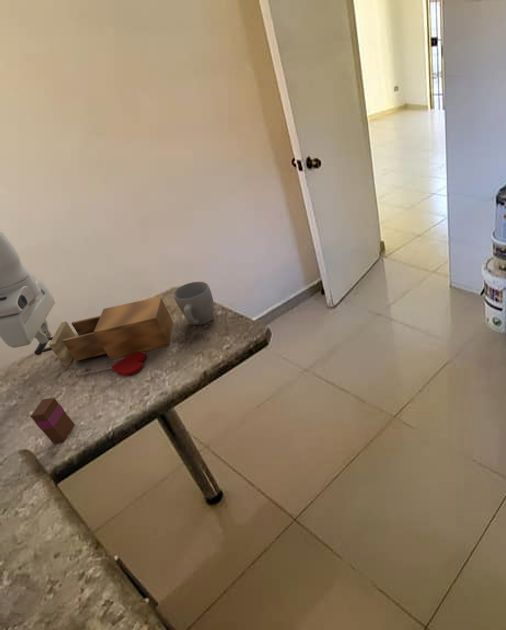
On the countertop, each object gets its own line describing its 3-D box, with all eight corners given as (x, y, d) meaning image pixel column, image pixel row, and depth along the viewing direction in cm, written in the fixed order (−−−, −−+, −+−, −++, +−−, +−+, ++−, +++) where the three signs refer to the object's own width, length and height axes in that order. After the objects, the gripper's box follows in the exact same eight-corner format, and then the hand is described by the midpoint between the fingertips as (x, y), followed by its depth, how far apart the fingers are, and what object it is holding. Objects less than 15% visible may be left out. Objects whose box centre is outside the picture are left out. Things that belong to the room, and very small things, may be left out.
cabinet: (110, 359, 108) (93, 332, 103) (118, 335, 117) (103, 308, 112) (169, 345, 112) (155, 318, 107) (173, 322, 120) (160, 296, 115)
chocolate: (52, 443, 87) (29, 416, 82) (63, 426, 90) (42, 399, 86) (64, 441, 87) (42, 414, 82) (75, 424, 91) (54, 397, 86)
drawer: (41, 372, 104) (25, 350, 100) (54, 348, 112) (39, 327, 108) (121, 352, 109) (108, 331, 105) (127, 331, 116) (116, 310, 113)
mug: (191, 312, 124) (178, 283, 118) (223, 308, 125) (211, 279, 119) (178, 338, 114) (164, 307, 108) (213, 333, 115) (200, 302, 109)
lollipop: (70, 388, 100) (140, 373, 103) (68, 385, 99) (139, 370, 102) (82, 365, 106) (148, 352, 109) (80, 363, 106) (147, 349, 109)
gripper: (14, 273, 105) (44, 320, 113) (-23, 317, 89) (15, 368, 97) (44, 268, 107) (72, 314, 114) (13, 310, 91) (48, 360, 99)
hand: (46, 339), depth 106 cm, fingers closed
